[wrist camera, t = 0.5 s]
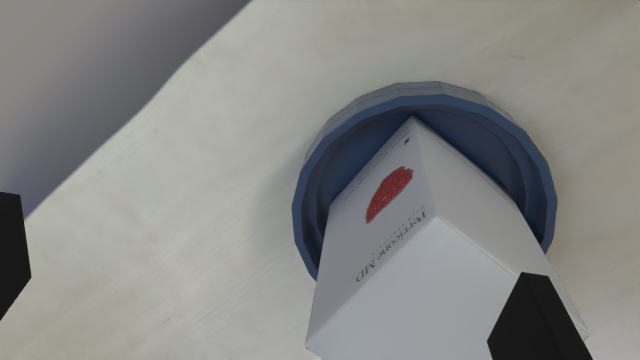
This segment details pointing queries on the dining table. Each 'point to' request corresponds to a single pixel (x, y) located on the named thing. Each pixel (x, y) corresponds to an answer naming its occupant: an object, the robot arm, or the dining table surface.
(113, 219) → the dining table surface
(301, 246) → the bowl
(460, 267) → the rectangular carton
